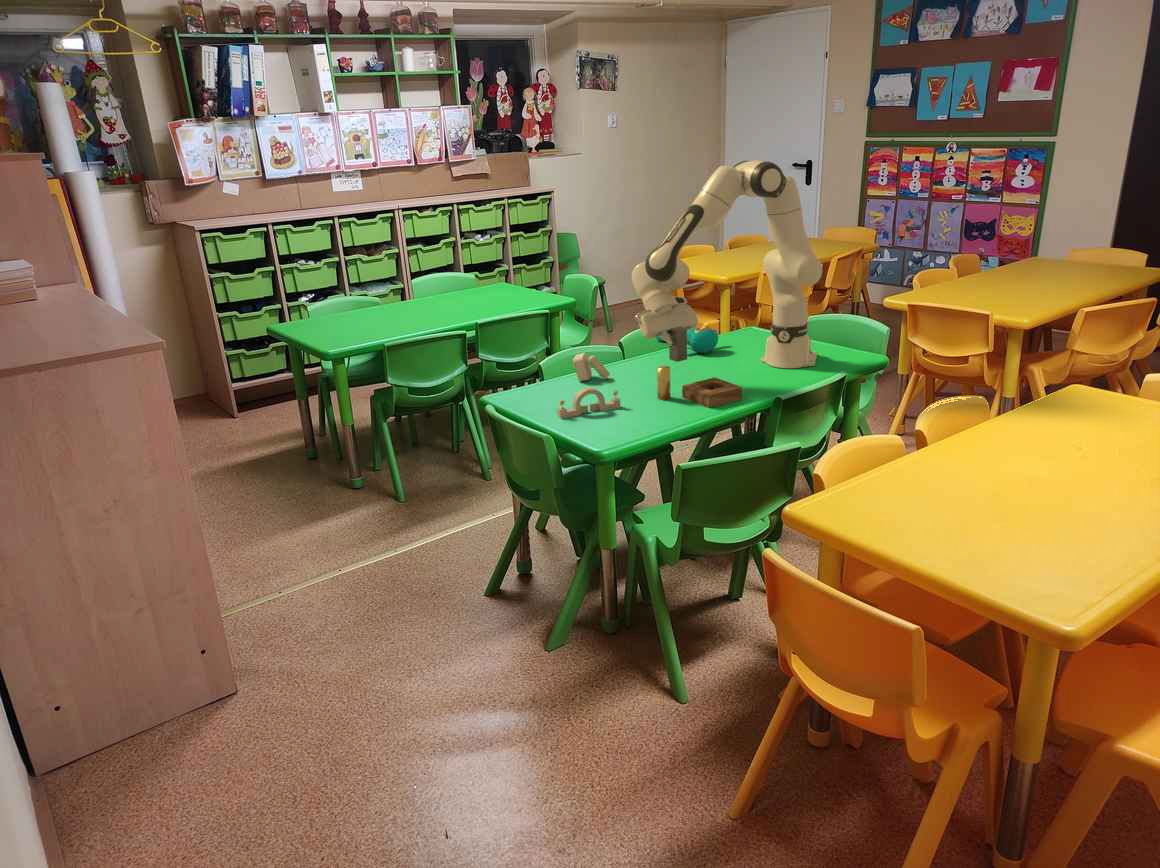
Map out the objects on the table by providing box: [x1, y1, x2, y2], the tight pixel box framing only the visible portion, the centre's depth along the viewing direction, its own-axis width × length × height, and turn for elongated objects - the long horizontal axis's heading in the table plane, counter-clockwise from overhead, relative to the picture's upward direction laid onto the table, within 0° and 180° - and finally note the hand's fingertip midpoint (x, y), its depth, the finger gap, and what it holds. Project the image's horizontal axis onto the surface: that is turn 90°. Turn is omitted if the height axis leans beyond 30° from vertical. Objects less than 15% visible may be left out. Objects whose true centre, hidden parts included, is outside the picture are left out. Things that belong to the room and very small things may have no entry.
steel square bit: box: [668, 327, 688, 363], centre depth 256 cm, size 4×4×10 cm
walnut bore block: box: [681, 376, 743, 409], centre depth 251 cm, size 13×13×4 cm
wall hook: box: [572, 352, 611, 383], centre depth 275 cm, size 8×10×10 cm
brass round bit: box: [656, 365, 671, 401], centre depth 252 cm, size 4×4×10 cm
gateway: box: [557, 387, 621, 419], centre depth 244 cm, size 20×2×8 cm, turn 112°
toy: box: [655, 326, 720, 354], centre depth 309 cm, size 22×10×30 cm
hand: (679, 343), depth 255 cm, fingers closed on steel square bit, 4 cm apart
